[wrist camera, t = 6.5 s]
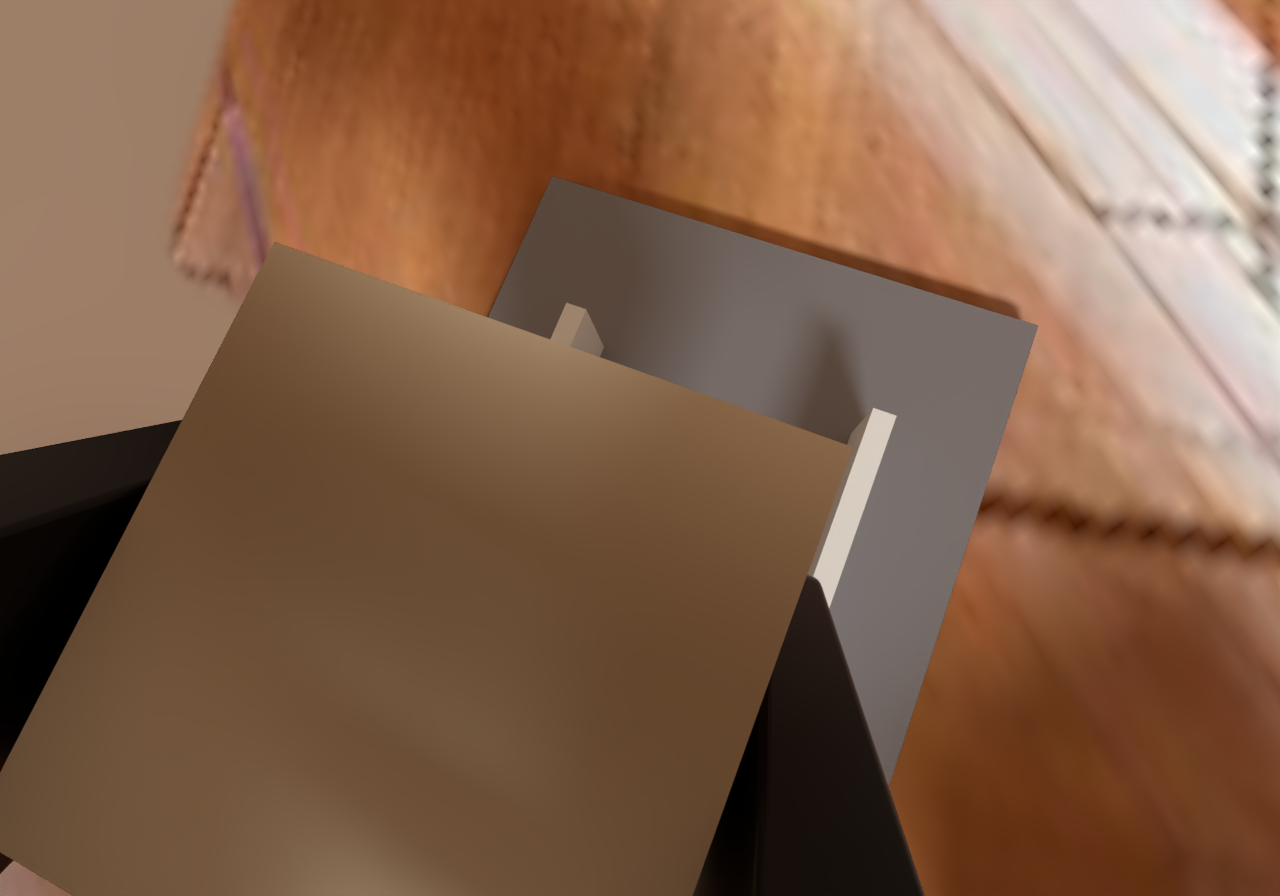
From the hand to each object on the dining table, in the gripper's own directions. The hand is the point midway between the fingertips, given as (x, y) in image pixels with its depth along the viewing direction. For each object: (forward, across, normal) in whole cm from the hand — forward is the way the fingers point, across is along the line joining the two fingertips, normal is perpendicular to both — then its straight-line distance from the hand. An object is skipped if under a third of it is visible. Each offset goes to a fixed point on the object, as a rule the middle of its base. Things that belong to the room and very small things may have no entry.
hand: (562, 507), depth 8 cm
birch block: (+4, 0, +5) cm, 6 cm away
